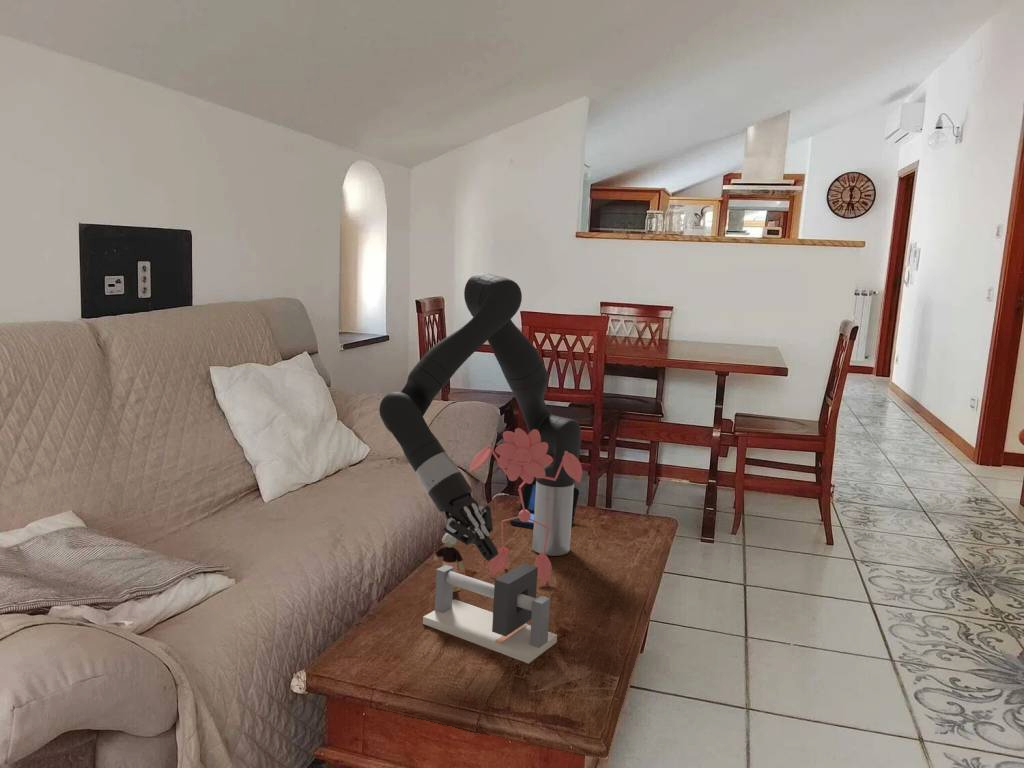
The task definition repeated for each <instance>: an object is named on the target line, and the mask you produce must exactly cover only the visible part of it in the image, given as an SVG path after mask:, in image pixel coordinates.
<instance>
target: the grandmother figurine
mask: <svg viewBox="0 0 1024 768" xmlns="http://www.w3.org/2000/svg"><path fill="white" fill-rule="evenodd" d="M441 542H442V543H443V544H445V546H442V547H440V548H439V549H437V550H436V551H435V554H434V557H433V561H435V562H437V561H439V558H442V564H441V567H442V566H444V565H448V566H451V567H454V572H456V573H458V569H460V571H464V569H465V566H464V559H463V557H462V555H461V553H460V551H459V550H458V549H457V548H455V547H456V546H457V543H458V539H456V538H455V537H453V536H451V535H450V534H448V533H447V532H445V533H444V535H443V537H442V539H441ZM458 566H459V568H458ZM461 590H462V588H460V587H457V586H454V585H453V593H455V592H459V591H461Z"/></svg>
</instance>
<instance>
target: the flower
mask: <svg viewBox="0 0 1024 768" xmlns="http://www.w3.org/2000/svg"><path fill="white" fill-rule="evenodd" d="M502 438H503V441H504V442H505V443H500V444H499V445H497V446H496V448H495V449H493V446H492V445H488V446H487V447H484V448H483V449H482V450H480V451H478V453H477V454H476V455H475V456H474V458H473V460H472V461H471V464H470V465H469V466H470V467H469V473H470V474H471V473H473V472H475V471H476V470H478V469H480V468H481V467H482V466H483V465H484V464H486V462H487V461H488V459H489V458H490V456H491V454H492V455H493V457H494V459H495V460H496V461H497V466H498V467H499V468H501V469H502V470H503V472H504V474H505V476H506V477H507V478H508V480H509V481H511V482H514V481H517V480H518V478H519V477H520V478H521V479H522V481H523V482H522V483H521V484H520V485H519V486H518V489H517V491H518V495H519V499H520V504H521V503H522V507H523V510H521V511H520V512H519V511H518V512H519V516H518V517H514V518H512V517H511V518H507V519H503V520H501V525H500V526H501V527H500V528H501V546H500V547H499V548H497V551H498V555H497V556H496V557H494V558H493V559H491V560H489V563H488V565H489V567H488V568H489V569H488V570H489V571H488V572H489V576H490V577H491V576H493V575H495V574H497V573H498V572H500V571H501V570H503V568H504V569H505V570H508V566H507V564H508V563H507V562H508V559H509V554H510V551H509V549H508V547H506V546H504V522H507V521H508V522H509V521H510V520H512V519H517V518H519V519H520V520H521V521H522V522H527V521H528V520H531V521H533V522H535V523H537V524H539V525H541V526H544V527H546V528H548V529H547V534H546V539H545V544H544V549H543V553H542V554H540V553H538V555H537V556H536V558H535V562H534V566H536V567H538V573H537V578H539V579H540V581H541V582H542V583H543V584H544V585H546V584H547V583H548V581H549V579H550V577H551V574H552V563H551V561H550V559H549V557H548V555H545V554H544V553H545V548H546V543H547V537H548V532H549V527H547V526H545V525H543V524H541V523H539V522H537V521H535V520H533V519H531V518H530V517H531V515H530V512H529V511H528V510H525V508H524V503H523V498H522V496H523V492H522V488H524V486H525V484H526V483H528V484H531V483H532V482H533V481H535V478H544V479H549V480H554V481H556V479H557V477H558V475H559V473H560V470H561V468H562V465H563V467H564V470H565V471H566V473H567V474H568V475H569V476H570V477H571V478H573V479H574V481H575V482H578V483H581V482H582V476H583V467H582V464H581V462H580V460H578V459H577V458H576V457H575V456H574V455H573V454H571V453H568V451H565V452H564V456H563V457H562V462H561V464H560V466H559V469H558V471H557V474H556V476H555V478H551V477H547V476H545V475H546V474H545V470H544V469H543V468H542V467H545V466H549V465H552V464H553V463H554V457H552V456H551V454H550V455H549V453H547V450H548V444H547V443H546V442H541V436H540V433H539V431H538V430H537V429H533V430H532V431H531V432H530V433H529V432H528V433H526V431H525V430H524V429H522V428H520V427H517V428H515V429H514V431H510V430H509V431H508V430H506V431H504V432H503V433H502ZM498 456H499V457H498ZM483 562H484V560H482V561H481V562H479V565H480V564H482V563H483ZM554 596H555V594H553V595H548V596H546V597H548V598H551V597H554Z"/></svg>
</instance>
